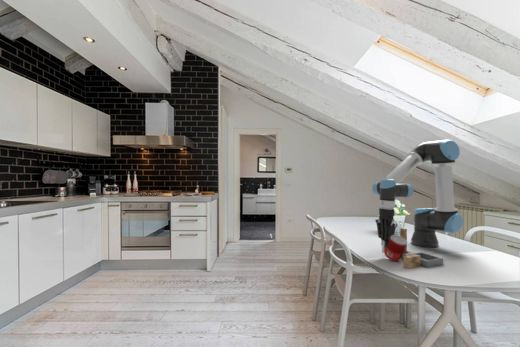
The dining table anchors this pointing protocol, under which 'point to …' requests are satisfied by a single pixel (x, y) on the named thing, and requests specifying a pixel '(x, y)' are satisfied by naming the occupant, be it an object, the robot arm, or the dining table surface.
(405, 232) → the dowel
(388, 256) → the canned food
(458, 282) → the dining table surface
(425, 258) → the tray
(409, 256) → the wooden block
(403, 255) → the holder
